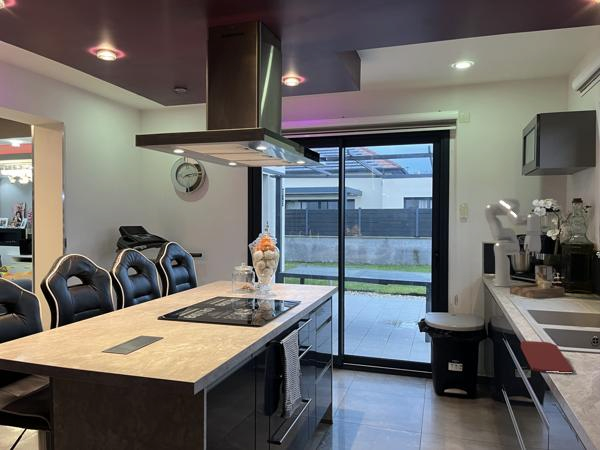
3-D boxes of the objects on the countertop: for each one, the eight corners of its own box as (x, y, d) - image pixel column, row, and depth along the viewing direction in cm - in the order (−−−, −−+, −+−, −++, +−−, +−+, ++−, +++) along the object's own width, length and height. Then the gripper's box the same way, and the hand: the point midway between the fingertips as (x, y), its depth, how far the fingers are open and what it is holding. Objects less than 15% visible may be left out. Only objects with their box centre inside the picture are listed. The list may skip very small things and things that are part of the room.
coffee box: (553, 290, 307) (553, 266, 307) (547, 291, 305) (547, 267, 304) (541, 288, 316) (541, 265, 315) (534, 289, 313) (534, 265, 313)
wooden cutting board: (509, 293, 296) (509, 286, 296) (540, 291, 304) (540, 283, 304) (532, 298, 279) (532, 290, 279) (564, 295, 287) (564, 287, 287)
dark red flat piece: (573, 385, 149) (552, 352, 173) (574, 371, 148) (552, 339, 172) (533, 382, 152) (517, 349, 176) (533, 369, 151) (518, 337, 175)
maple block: (538, 287, 299) (538, 281, 299) (544, 286, 300) (544, 280, 300) (544, 288, 294) (544, 282, 294) (550, 287, 296) (550, 281, 296)
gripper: (537, 233, 301) (537, 260, 301) (519, 233, 296) (519, 262, 296) (546, 233, 293) (546, 262, 294) (528, 234, 289) (528, 263, 289)
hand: (532, 262), depth 295 cm, fingers closed
